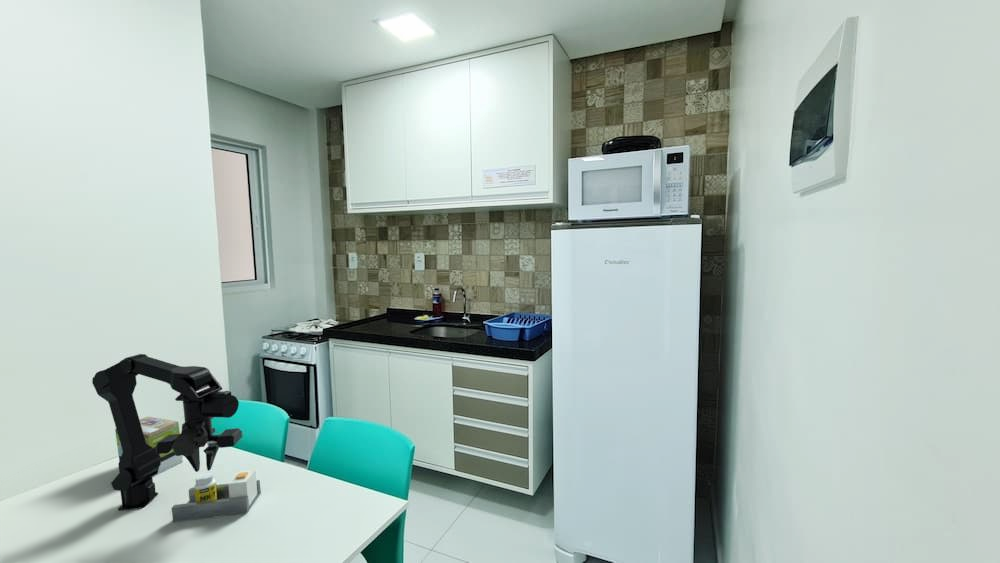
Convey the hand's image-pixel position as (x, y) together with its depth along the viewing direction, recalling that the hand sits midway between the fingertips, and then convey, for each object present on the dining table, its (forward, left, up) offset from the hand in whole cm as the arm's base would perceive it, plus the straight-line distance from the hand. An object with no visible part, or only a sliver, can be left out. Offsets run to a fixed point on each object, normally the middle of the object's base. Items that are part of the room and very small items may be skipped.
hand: (203, 470), depth 112 cm
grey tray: (+3, 0, -11) cm, 11 cm away
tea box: (-30, +28, -11) cm, 43 cm away
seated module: (+9, 0, -11) cm, 15 cm away
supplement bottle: (0, 0, -10) cm, 10 cm away
